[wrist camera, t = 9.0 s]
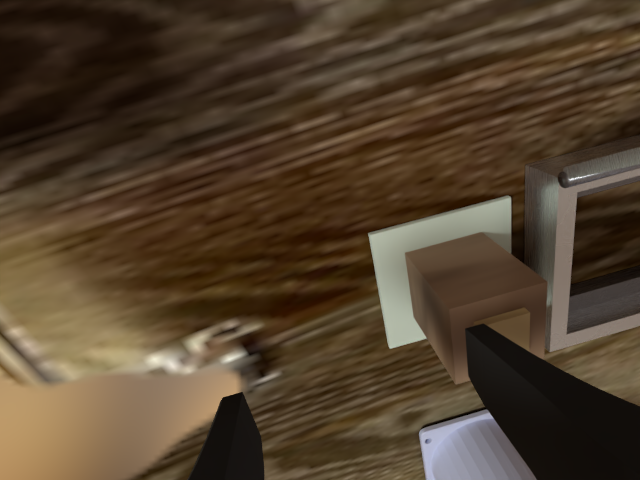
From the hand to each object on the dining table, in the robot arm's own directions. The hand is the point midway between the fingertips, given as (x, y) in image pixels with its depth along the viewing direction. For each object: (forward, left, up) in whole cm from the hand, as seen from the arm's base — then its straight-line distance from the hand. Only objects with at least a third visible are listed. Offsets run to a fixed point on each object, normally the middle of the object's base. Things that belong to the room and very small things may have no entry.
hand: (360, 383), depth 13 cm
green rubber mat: (-4, -7, -10) cm, 13 cm away
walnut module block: (-4, -7, -10) cm, 13 cm away
